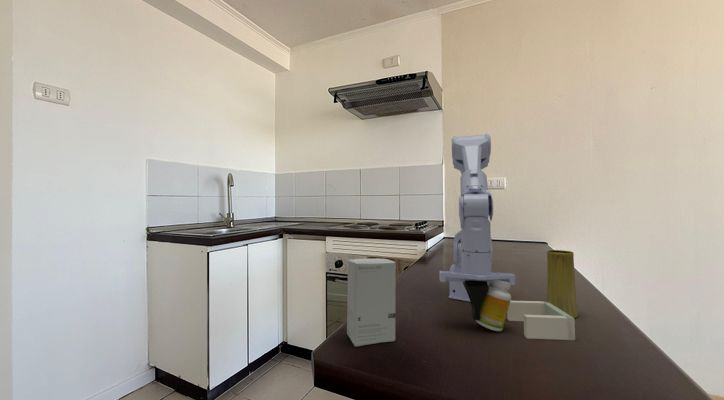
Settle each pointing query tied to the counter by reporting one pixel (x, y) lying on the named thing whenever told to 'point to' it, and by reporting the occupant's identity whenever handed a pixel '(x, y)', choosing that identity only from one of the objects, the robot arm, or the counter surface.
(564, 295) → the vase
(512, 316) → the bracket
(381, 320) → the skincare box
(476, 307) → the robot arm
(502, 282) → the supplement bottle
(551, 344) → the counter surface
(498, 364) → the counter surface
